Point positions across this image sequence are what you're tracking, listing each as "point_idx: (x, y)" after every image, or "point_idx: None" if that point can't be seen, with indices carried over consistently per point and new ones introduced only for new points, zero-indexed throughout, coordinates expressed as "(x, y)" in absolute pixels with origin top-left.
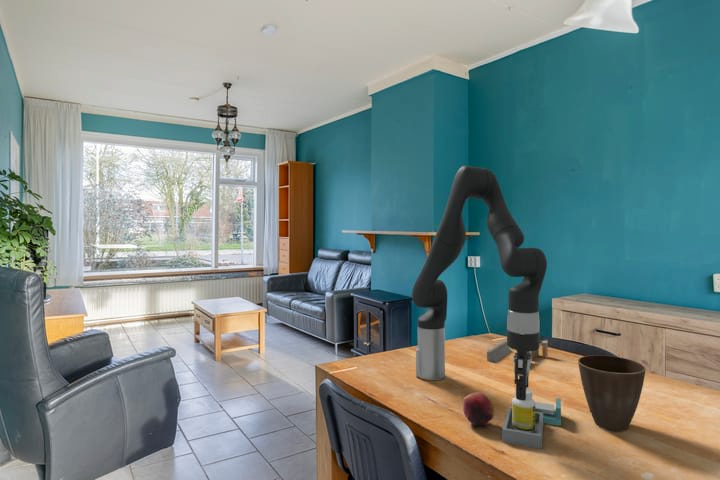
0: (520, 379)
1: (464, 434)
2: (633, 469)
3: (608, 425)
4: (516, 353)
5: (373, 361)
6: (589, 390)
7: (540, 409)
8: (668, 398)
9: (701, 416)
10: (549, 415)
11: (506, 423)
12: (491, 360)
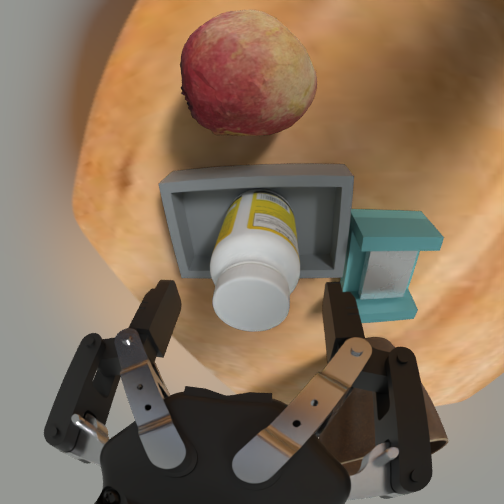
0: (97, 368)
1: (159, 65)
2: (209, 362)
3: None
4: (244, 481)
5: None
6: (353, 404)
7: (366, 269)
8: (456, 384)
9: None
10: None
11: (206, 187)
12: None
